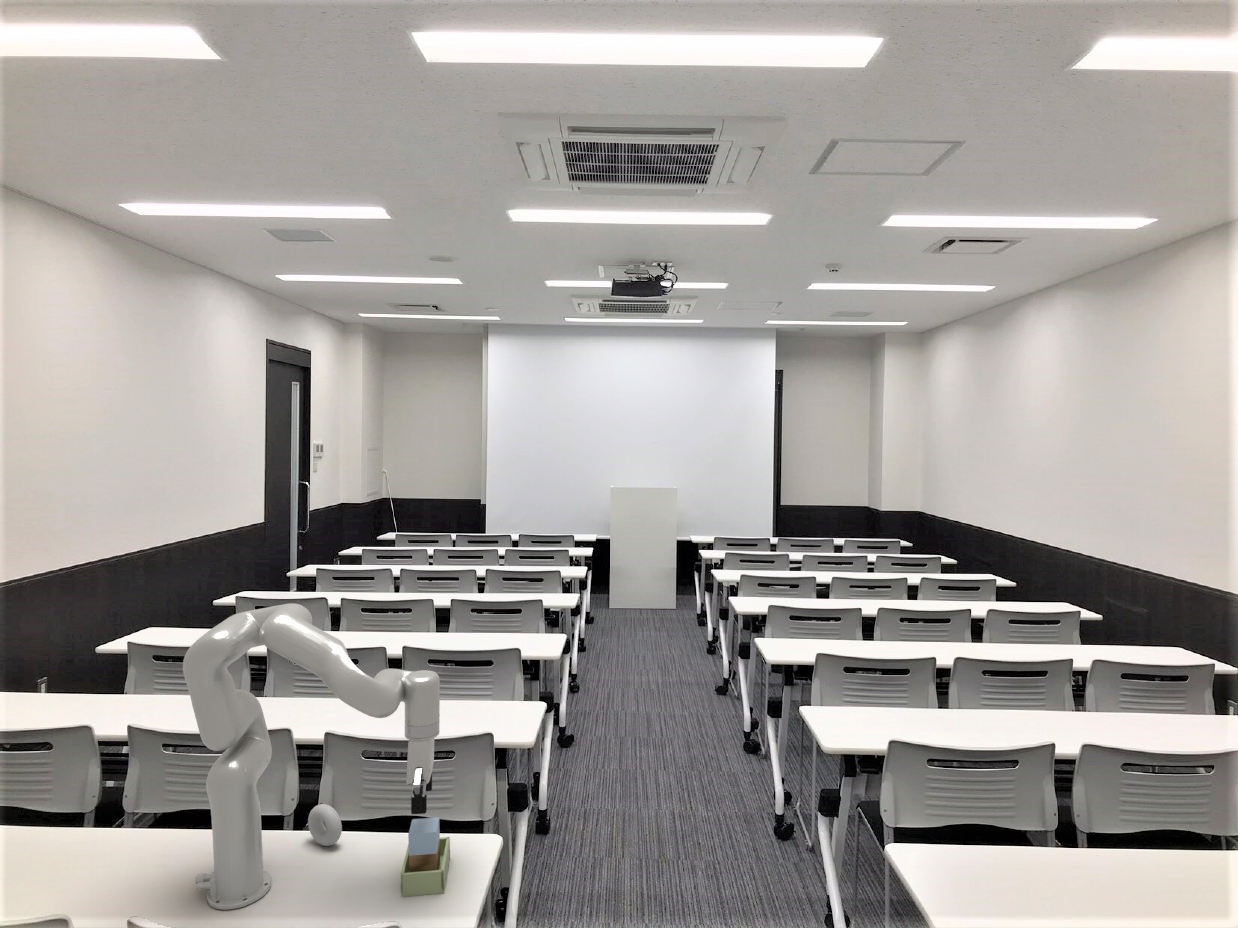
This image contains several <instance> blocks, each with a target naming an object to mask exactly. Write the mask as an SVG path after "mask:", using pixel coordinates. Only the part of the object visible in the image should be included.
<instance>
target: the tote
mask: <svg viewBox="0 0 1238 928" xmlns="http://www.w3.org/2000/svg"><path fill="white" fill-rule="evenodd" d="M450 840H451V839H450V836H446V837H445V836H444V837H440V868H439V870H434V871H421V872H409V843H408V844H407V847H406V852H405V856H404V860H403V864H402V867H401V871H400V874H399V875H400V876H399V877H400V879H399V880H400V882H399V883H400V897H401V898H406V897H414V896H415V897H416V896H417V897H418V896H427V895H428V896H429V895H438V894H439V895H441V894H445V890H446V884H447V880H448V879H447V877H448V871H449V867H450V859H451V848H450V847H451V845H450V844H451V841H450Z"/></svg>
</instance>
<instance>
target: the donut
mask: <svg viewBox="0 0 1238 928" xmlns="http://www.w3.org/2000/svg"><path fill="white" fill-rule="evenodd" d="M307 824H308V825H307V826H308V831H309V832H310V835H311V837H312V838H313V840H314V841H316V842H317V844H319V845H321V846H324V847H330V846H333V845H335V844H336V843H337V842H338V841H339V840H340V838H341V835H342V831H343V825H342V820H341V816H340V815H339V814H338V812H337V810H335V808H334V807H332V806H331V805H329V804H325V803H320V804H317V805H315V806H313V808H312V809H311V810H310V812H309V814H308V819H307Z"/></svg>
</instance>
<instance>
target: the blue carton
mask: <svg viewBox="0 0 1238 928" xmlns="http://www.w3.org/2000/svg"><path fill="white" fill-rule="evenodd" d="M440 832H441V831H440V817H425V818H413V819H411V822H410V827H409V830H408V844H409V856H413V855H426V854H437V850H438V845H439V840H440V838H441V836H440V835H441V833H440Z"/></svg>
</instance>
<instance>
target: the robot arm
mask: <svg viewBox="0 0 1238 928" xmlns="http://www.w3.org/2000/svg"><path fill="white" fill-rule="evenodd" d="M261 646H264V647H266V648H267V649H268V650H270V651H271V652H274V653H275V654H277V655H279V656H281V657H283V658H285V659H286V660H288V661H291V663H294V664H296V665H298V666H300V667H301V668H303V669H305V670H306V671H309V672H310V673H312V674H314V675H315V676H317V677H318V678H320V680H321V681H322V682H323V684H324V685H325V686H326V687H327V688H328V689H329V690H330V691H331V692H332V693H333V695H335V696H336V697H337V698H338V699H339V700H340V701H342V702H343V703H344V704H346V705H347V706H349V707H351V708H353V709H354V710H357V711H358V712H360V713H362V714H365V715H366V716H369V717H372V718H375V719H384V718H388V717H390V716H391V715H393V714H394V713H395V712H396V711H397V709H398V708H399V706H400V704H401V703H402V702H403V703H404V737H405V739H406V740H408V743H407V745H408V746H407V759H406V760H407V762H406V763H407V764H406V765H407V766H406V784H407V785H408V786H410V785H412V786H411V787H412V789H411V796H410V798H411V799H410V805H411V806H410V813H411V815H423V814H425V815H426V813H427V801H428V800H427V799H428V798H427V797H428V795H427V794H426V792H431V791H432V790H433V768H434V760H435V738H436V737H438V736H439V735H440V713H441V712H440V710H441V709H440V706H441V705H440V703H441V702H440V701H441V699H440V698H441V697H440V694H441V693H440V692H441V691H440V688H441V687H440V685H441V684H440V683H441V681H440V680H441V679H440V676H439V674H438V673H437V672H435V671H433V670H428V669H426V670H425V669H422V670H415V671H413V670H404V669H399V668H384V669H382V670H380V671H379V672H377V674H376V675H375V676H374V677H372V676H370V675H368V674H367V673H365V672H363V671H362V670H361V669H360V668H359V667H357V666H356V664H355V663H354V662H353V661H352V659H351V658H350V656H349V653H348V651H347V648H346V646H345V644H344V642H343V641H342V640H341V639H339V638H337V637H336V636H334V635H331V634H330V633H327V632H326V631H324V630H323V629H320V628H319V627H317V626H315V625H313V617H312V614H311V612H310V611H309V609H307V608H306V607H305V606H303V605H302V604H299V603H294V602H293V603H290V602H289V603H285V604H278V605H273V606H267V607H263V608H258V609H253V610H246V611H242V612H238V613H235V614H232V615H230V616H229V617H227V618H226V619H224V620H223V621H222V622H220V623H218V624H217V625H215V626H213V627H212V628H211V629H210V630H208V631H207V632H205V633H203V635H201V636H200V637H198V639H196V640H195V641H194V642H193V643H192V644H191V646H190V647H189V648H188V649H187V651H186V653H185V654H184V657H183V660H182V661H183V662H182V673H183V677H184V680H185V683H186V686H187V690H188V693H189V696H190V700H191V706H192V709H193V713H194V717H195V720H196V724H197V729H198V732H199V735H200V739H201V741H202V743H203V744H204V745H205V747H206V748H208V749H209V750H211V751H214V752H220V751H221V752H222V751H223V752H222V754H221V755H219V756H218V758H217V759H216V760H215V762H214V763H213V764H212V766H211V768H210V769H209V772H208V773H207V776H206V777H207V778H206V782H205V789H206V794H207V798H208V801H209V807H210V816H211V830H212V849H213V850H212V851H213V853H212V854H213V870H214V871H212V873H211V872H210V873H197V874H196V877H195V881H194V882H195V885H196V889H197V890H205V889H208V891H207V895H206V898H207V899H206V900H207V903H208V905H209V906H210V907H211V908H214V909H217V910H223V911H224V910H225V911H226V910H227V911H228V910H235V909H239V908H243V907H246V906H249V905H251V904H253V903H255V902H257V901H259V900H260V899H261V898H262V897H264V896H265V895H266V894H267V892H268V891H270V889H271V887H272V883H273V881H272V876H271V874H270V873H269V872H267V871H266V870H264V860H263V859H264V858H263V855H264V854H263V835H262V832H263V831H262V813H261V812H262V809H261V802H260V798H259V794H258V791H257V783H258V780H259V779H260V777H261V776H262V774H263V773H264V771H265V770H266V768H267V767H268V766H269V763H270V762H271V759H272V754H273V749H272V741H271V739H270V734H269V731H268V726H267V724H266V718H265V716H264V715H265V714H264V712H263V711H264V710H263V708H262V705H261V703H260V700H258V698H257V697H256V696H255V695H254V693H252V692H250V691H249V690H245V689H236V684H235V681H234V679H233V676H232V674H231V672H229V670H228V667H229V666H230V665H231V664H233V663H234V662H235V661H237V660H238V659H240V658H242V656H243V655H245V654H246V653H247V652H248V651H250V650H251V649H253V648H256V647H261Z"/></svg>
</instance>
